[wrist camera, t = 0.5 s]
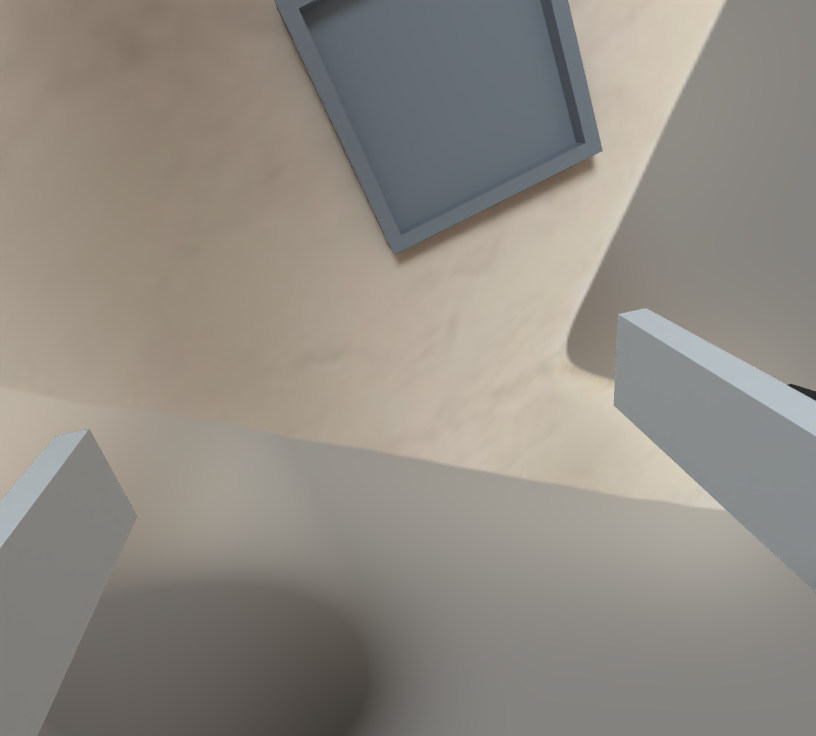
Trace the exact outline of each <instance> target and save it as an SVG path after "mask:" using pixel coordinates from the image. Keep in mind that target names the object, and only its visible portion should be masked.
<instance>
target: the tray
mask: <svg viewBox="0 0 816 736" xmlns="http://www.w3.org/2000/svg"><path fill="white" fill-rule="evenodd" d="M275 3H276V6H277V8H278V10H279V12H280V14H281V16H282V18H283V21H284V23H285V25H286V27H287V29H288V31H289V33H290V36H291V38H292V40H293V42H294V44H295V46H296V48H297V50H298V53H299V55H300V57H301V59H302V61H303V63H304V65H305V67H306V70H307V72H308V74H309V76H310V78H311V80H312V82H313V84H314V87H315V89H316V91H317V93H318V95H319V97H320V99H321V101H322V104H323V106H324V108H325V110H326V112H327V114H328V116H329V118H330V121H331V123H332V125H333V127H334V129H335V131H336V133H337V135H338V138H339V140H340V142H341V144H342V146H343V148H344V150H345V153H346V155H347V157H348V159H349V161H350V163H351V165H352V167H353V170H354V172H355V174H356V176H357V178H358V180H359V182H360V184H361V187H362V189H363V191H364V193H365V195H366V197H367V199H368V201H369V204H370V206H371V208H372V210H373V212H374V214H375V216H376V218H377V221H378V223H379V225H380V227H381V229H382V231H383V233H384V235H385V238H386V240H387V242H388V244H389V246H390V248H391V250H392V252H393V253H394V255H395V254H397V253H399V252H401V251H403V250H405V249H407V248H409V247H411V246H413V245H415V244H417V243H419V242H421V241H423V240H425V239H427V238H429V237H431V236H433V235H435V234H437V233H439V232H441V231H443V230H445V229H447V228H449V227H451V226H453V225H455V224H457V223H459V222H461V221H463V220H465V219H467V218H469V217H471V216H473V215H475V214H477V213H479V212H481V211H483V210H485V209H487V208H489V207H491V206H493V205H495V204H497V203H499V202H501V201H503V200H505V199H507V198H509V197H511V196H513V195H515V194H517V193H519V192H521V191H523V190H525V189H527V188H529V187H531V186H533V185H535V184H537V183H539V182H541V181H543V180H545V179H547V178H549V177H551V176H553V175H555V174H557V173H559V172H561V171H563V170H565V169H567V168H569V167H571V166H573V165H575V164H577V163H579V162H581V161H583V160H585V159H587V158H589V157H591V156H593V155H595V154H597V153H599V152H601V151H602V147H601V142H600V138H599V133H598V129H597V125H596V120H595V116H594V112H593V107H592V103H591V99H590V94H589V90H588V86H587V81H586V77H585V73H584V68H583V64H582V60H581V55H580V51H579V46H578V42H577V38H576V33H575V29H574V25H573V20H572V16H571V12H570V7H569V3H568V0H275Z"/></svg>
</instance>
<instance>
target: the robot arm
mask: <svg viewBox="0 0 816 736" xmlns="http://www.w3.org/2000/svg"><path fill="white" fill-rule="evenodd" d="M617 328H618V329H617V349H616V369H615V390H614V406H615V407H616V408H617V409H618V410H619V411H620V412H622V413H623V414H624V415H625V416H626V417H627V418H628V419H629V420H630V421H631V422H632V423H633V424H634V425H636V426H637V427H638V428H639V429H640V430H641V431H642V432H643V433H644V434H645V435H646V436H647V437H648V438H650V439H651V440H652V441H653V442H654V443H655V444H656V445H657V446H658V447H659V448H660V449H661V450H662V451H664V452H665V453H666V454H667V455H668V456H669V457H670V458H671V459H672V460H673V461H674V462H675V463H676V464H678V465H679V466H680V467H681V468H682V469H683V470H684V471H685V472H686V473H687V474H688V475H689V476H690V477H692V478H693V479H694V480H695V481H696V482H697V483H698V484H699V485H700V486H701V487H702V488H703V489H704V490H706V491H707V492H708V493H709V494H710V495H711V496H712V497H713V498H714V499H715V500H716V501H717V502H718V503H720V504H721V505H722V506H723V507H724V508H725V509H726V510H727V511H728V512H729V513H730V514H731V515H732V516H733V517H735V518H736V519H737V520H738V521H739V522H740V523H741V524H742V525H743V526H744V527H745V528H746V529H748V530H749V531H750V532H751V533H752V534H753V535H754V536H755V537H756V538H758V540H759V541H760V542H762V543H763V544H764V545H765V546H766V547H767V548H768V549H769V550H770V551H771V552H772V553H773V554H774V555H775V556H777V557H778V558H779V559H780V560H781V561H782V562H783V563H784V564H785V565H786V566H787V567H788V568H789V569H791V570H792V571H793V572H794V573H795V574H796V575H797V576H798V577H799V578H800V579H801V580H803V582H805V583H806V584H807V585H808V586H809V587H810V588H811V589H812V590H813V591H814V592H815V593H816V391H812V390H809V389H806V388H803V387H800V386H796V385H793V384H789V385H786V384H784V383H782V382H780V381H778V380H777V379H775V378H773V377H771V376H769V375H767V374H766V373H764V372H762V371H760V370H758V369H756V368H754V367H753V366H751V365H749V364H747V363H745V362H744V361H742V360H740V359H738V358H736V357H734V356H733V355H731V354H729V353H727V352H725V351H724V350H722V349H720V348H718V347H716V346H714V345H713V344H711V343H709V342H707V341H705V340H703V339H701V338H700V337H698V336H696V335H694V334H692V333H691V332H689V331H687V330H685V329H683V328H681V327H679V326H678V325H676V324H674V323H672V322H670V321H669V320H667V319H665V318H663V317H661V316H659V315H657V314H656V313H654V312H652V311H650V310H648V309H640V310H636V311H631V312H627V313H622V314H618V327H617ZM136 517H137V515H136V513H135V511H134V509H133V508H132V506H131V504H130V502H129V501H128V499H127V497H126V495H125V493H124V491H123V489H122V488H121V486H120V484H119V482H118V480H117V478H116V477H115V475H114V473H113V471H112V469H111V467H110V466H109V464H108V462H107V460H106V458H105V457H104V455H103V453H102V451H101V449H100V447H99V446H98V444H97V442H96V440H95V438H94V437H93V435H92V433H91V431H90V429H86V430H81V431H77V432H72V433H68V434H63V435H58V436H55V437H54V438H53V439H52V441H51V442H50V443H49V444H48V446H47V447H46V448H45V449H44V450H43V451H42V453H41V454H40V455H39V456H38V457H37V459H36V460H35V461H34V462H33V463H32V465H31V466H30V467H29V468H28V469H27V471H26V472H25V473H24V474H23V475H22V477H21V478H20V479H19V480H18V481H17V482H16V484H15V485H14V486H13V487H12V488H11V490H10V491H9V492H8V493H7V494H6V496H5V497H4V498H3V499H2V501H1V502H0V736H37V735H38V733H39V731H40V728H41V726H42V724H43V722H44V720H45V718H46V715H47V713H48V711H49V709H50V706H51V704H52V702H53V700H54V698H55V696H56V693H57V691H58V689H59V687H60V684H61V682H62V680H63V678H64V676H65V674H66V671H67V669H68V667H69V664H70V663H71V660H72V658H73V656H74V654H75V652H76V649H77V647H78V645H79V643H80V641H81V638H82V636H83V634H84V631H85V630H86V627H87V625H88V623H89V621H90V619H91V616H92V614H93V612H94V610H95V608H96V605H97V603H98V601H99V599H100V597H101V594H102V592H103V590H104V588H105V586H106V583H107V581H108V579H109V577H110V575H111V572H112V570H113V568H114V566H115V563H116V561H117V559H118V557H119V555H120V553H121V550H122V548H123V546H124V544H125V542H126V539H127V537H128V535H129V532H130V530H131V528H132V526H133V524H134V522H135V520H136Z"/></svg>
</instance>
